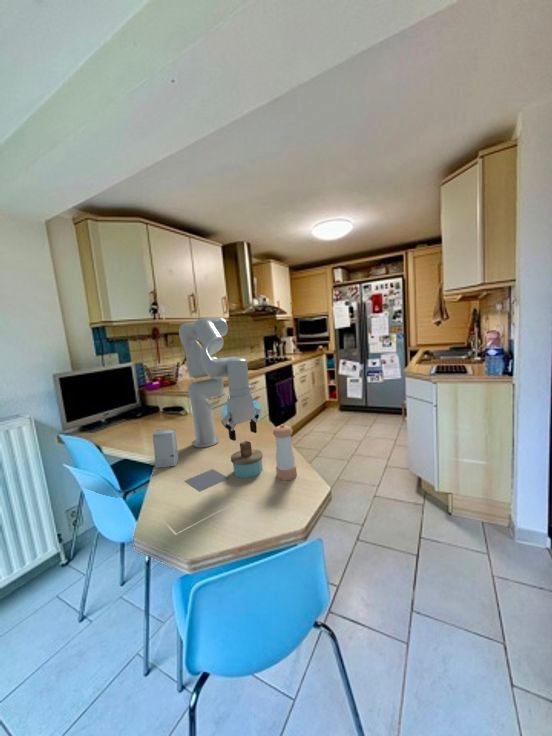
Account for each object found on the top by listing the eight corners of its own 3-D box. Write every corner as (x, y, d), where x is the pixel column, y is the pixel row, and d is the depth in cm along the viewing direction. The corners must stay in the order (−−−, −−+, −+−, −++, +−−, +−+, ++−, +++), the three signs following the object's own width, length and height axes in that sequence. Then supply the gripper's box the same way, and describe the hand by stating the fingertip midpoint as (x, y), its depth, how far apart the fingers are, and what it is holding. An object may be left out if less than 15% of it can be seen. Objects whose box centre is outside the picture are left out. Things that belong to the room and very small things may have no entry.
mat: (184, 481, 113) (184, 480, 113) (212, 469, 121) (212, 469, 121) (199, 492, 104) (199, 491, 104) (229, 479, 112) (229, 478, 112)
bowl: (228, 472, 117) (227, 459, 116) (250, 463, 124) (249, 450, 123) (245, 481, 109) (243, 466, 108) (268, 470, 116) (266, 456, 115)
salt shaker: (273, 474, 112) (268, 424, 110) (291, 469, 115) (286, 420, 113) (281, 482, 106) (276, 429, 103) (300, 476, 109) (295, 424, 106)
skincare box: (155, 468, 127) (150, 434, 125) (160, 462, 133) (156, 429, 131) (176, 466, 127) (171, 432, 125) (180, 460, 133) (175, 427, 131)
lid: (224, 459, 116) (223, 444, 115) (249, 449, 124) (248, 435, 123) (243, 467, 107) (241, 451, 107) (269, 456, 115) (267, 441, 114)
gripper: (251, 386, 121) (255, 427, 124) (213, 395, 110) (218, 440, 112) (263, 388, 116) (267, 431, 118) (225, 398, 104) (230, 445, 107)
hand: (243, 435), depth 115 cm, fingers open, 9 cm apart
